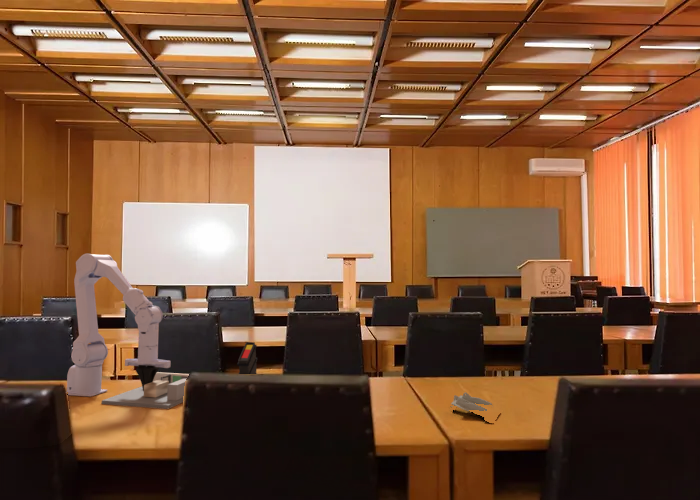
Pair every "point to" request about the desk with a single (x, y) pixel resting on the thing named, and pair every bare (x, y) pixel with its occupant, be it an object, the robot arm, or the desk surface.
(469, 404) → the grey angular piece
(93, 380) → the robot arm
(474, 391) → the desk surface
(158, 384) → the block
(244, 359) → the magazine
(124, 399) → the gauge board
